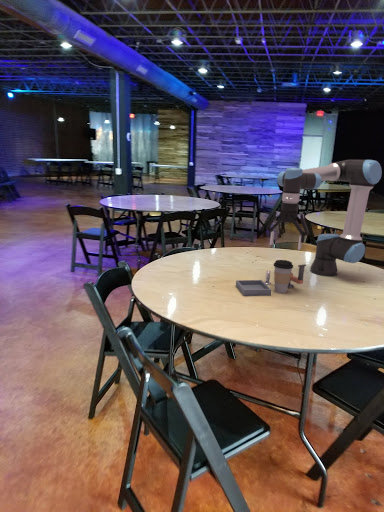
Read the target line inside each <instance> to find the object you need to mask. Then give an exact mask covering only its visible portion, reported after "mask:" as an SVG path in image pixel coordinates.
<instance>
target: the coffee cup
mask: <svg viewBox="0 0 384 512" xmlns="http://www.w3.org/2000/svg"><path fill="white" fill-rule="evenodd" d="M273 267H274V272H273V274H274V277H273V278H274V279H273V280H274V291H275V292H276V293H279V294H286V293H287V291H288V289H289V288H288V284H289V281H290V277H291V272H292V270H293V268H294V265H293V262H292V261H290V260H286V259H277V260H275V261H274V262H273Z"/></svg>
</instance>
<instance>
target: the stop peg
mask: <svg viewBox="0 0 384 512" xmlns="http://www.w3.org/2000/svg"><path fill="white" fill-rule="evenodd" d="M270 278H271V271H270V270H267V271H266V273H265V281H263V282H264V283H265V284H266V285H267V286H268V285H269V286H270V285H271V284H272V282H271V281H270Z"/></svg>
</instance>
